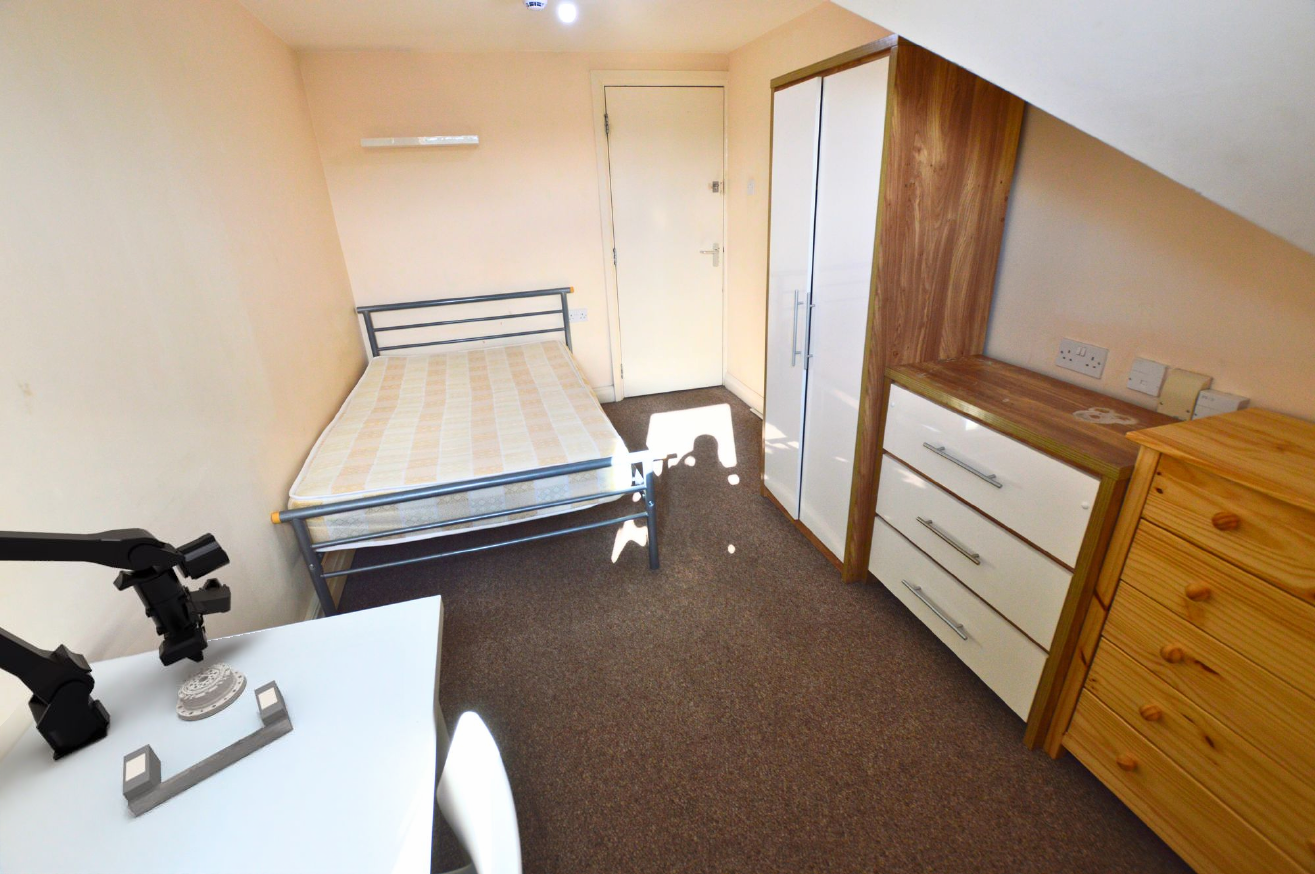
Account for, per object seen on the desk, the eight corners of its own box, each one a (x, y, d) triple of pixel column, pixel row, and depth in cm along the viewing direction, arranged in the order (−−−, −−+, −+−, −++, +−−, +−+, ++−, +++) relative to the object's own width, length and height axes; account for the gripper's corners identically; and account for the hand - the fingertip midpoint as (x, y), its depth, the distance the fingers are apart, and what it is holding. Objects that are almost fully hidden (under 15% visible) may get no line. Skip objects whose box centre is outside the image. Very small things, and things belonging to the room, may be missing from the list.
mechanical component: (164, 722, 96) (219, 721, 95) (152, 704, 94) (208, 702, 94) (209, 675, 105) (259, 673, 104) (198, 657, 103) (250, 655, 103)
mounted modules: (135, 811, 82) (121, 793, 80) (136, 773, 87) (123, 755, 86) (291, 725, 93) (282, 707, 91) (282, 696, 99) (273, 678, 97)
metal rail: (135, 817, 81) (127, 805, 80) (135, 811, 82) (127, 800, 81) (292, 729, 92) (287, 718, 91) (291, 725, 93) (286, 714, 92)
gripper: (223, 595, 98) (257, 663, 105) (212, 552, 111) (243, 614, 118) (141, 629, 92) (183, 699, 98) (140, 579, 105) (177, 643, 112)
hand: (200, 660), depth 107 cm, fingers closed
